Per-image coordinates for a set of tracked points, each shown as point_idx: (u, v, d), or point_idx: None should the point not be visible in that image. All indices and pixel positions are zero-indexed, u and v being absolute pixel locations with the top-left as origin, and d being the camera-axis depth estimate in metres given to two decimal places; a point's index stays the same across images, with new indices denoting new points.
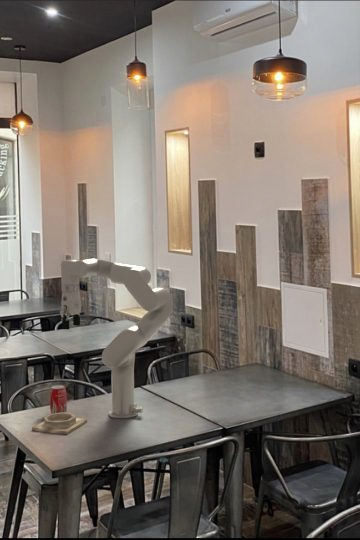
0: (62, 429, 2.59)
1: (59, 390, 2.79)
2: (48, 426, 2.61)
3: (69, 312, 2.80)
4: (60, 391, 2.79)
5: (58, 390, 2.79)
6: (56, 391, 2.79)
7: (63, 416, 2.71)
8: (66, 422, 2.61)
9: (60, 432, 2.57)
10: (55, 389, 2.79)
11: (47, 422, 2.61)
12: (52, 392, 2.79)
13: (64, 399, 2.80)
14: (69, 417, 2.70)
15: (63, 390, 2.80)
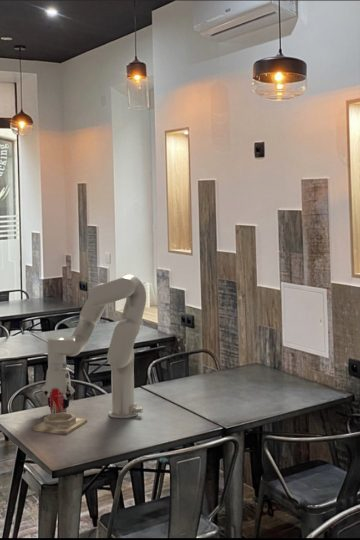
0: (62, 429, 2.59)
1: None
2: (48, 426, 2.61)
3: None
4: None
5: (58, 390, 2.79)
6: (56, 391, 2.79)
7: (63, 416, 2.71)
8: (66, 422, 2.61)
9: (60, 432, 2.57)
10: (55, 389, 2.79)
11: (47, 422, 2.61)
12: (52, 392, 2.79)
13: None
14: (69, 417, 2.70)
15: None
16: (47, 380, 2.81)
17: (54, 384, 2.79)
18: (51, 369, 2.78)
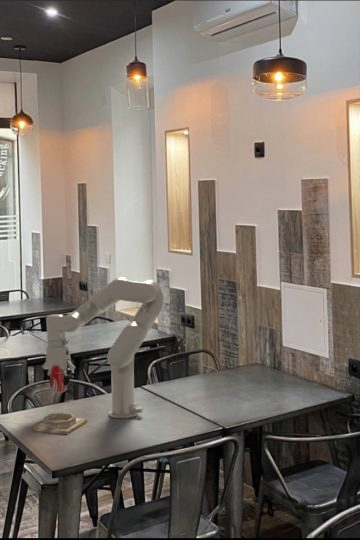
0: (62, 429, 2.59)
1: (59, 367, 2.78)
2: (48, 426, 2.61)
3: None
4: None
5: (58, 367, 2.78)
6: (56, 368, 2.78)
7: (63, 416, 2.71)
8: (66, 422, 2.61)
9: (60, 432, 2.57)
10: (55, 366, 2.78)
11: (47, 422, 2.61)
12: (52, 369, 2.78)
13: None
14: (69, 417, 2.70)
15: None
16: (47, 357, 2.80)
17: (54, 361, 2.78)
18: (51, 346, 2.77)
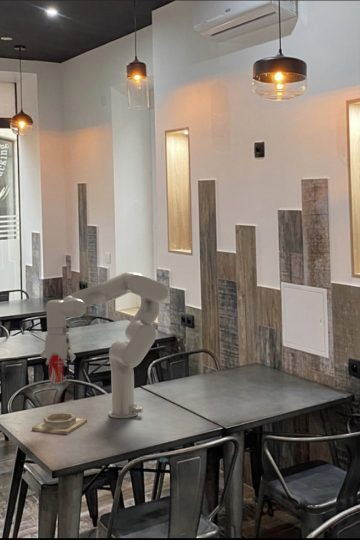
0: (62, 429, 2.59)
1: None
2: (48, 426, 2.61)
3: None
4: None
5: (58, 356, 2.61)
6: (56, 357, 2.61)
7: (63, 416, 2.71)
8: (66, 422, 2.61)
9: (60, 432, 2.57)
10: (55, 355, 2.61)
11: (47, 422, 2.61)
12: (51, 358, 2.61)
13: None
14: (69, 417, 2.70)
15: None
16: (46, 346, 2.63)
17: (53, 350, 2.62)
18: (50, 333, 2.60)
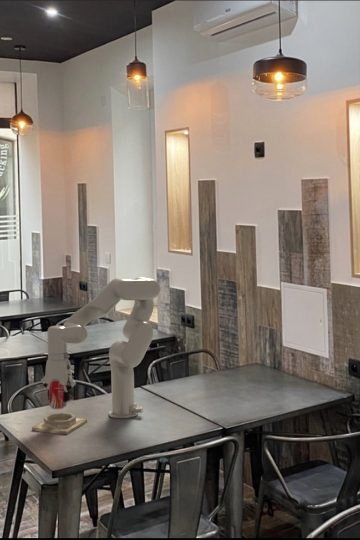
0: (62, 429, 2.59)
1: (59, 382, 2.62)
2: (48, 426, 2.61)
3: None
4: (60, 383, 2.62)
5: (58, 382, 2.62)
6: (56, 383, 2.62)
7: (63, 416, 2.71)
8: (66, 422, 2.61)
9: (60, 432, 2.57)
10: (55, 381, 2.62)
11: (47, 422, 2.61)
12: (52, 384, 2.62)
13: None
14: (69, 417, 2.70)
15: None
16: (47, 371, 2.64)
17: (54, 376, 2.62)
18: (51, 359, 2.61)
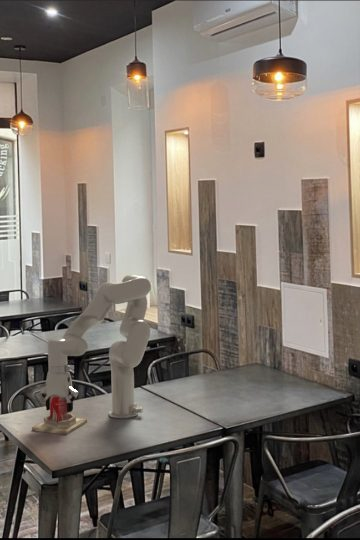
0: (62, 429, 2.59)
1: (60, 398, 2.63)
2: (48, 426, 2.61)
3: (72, 392, 2.65)
4: (61, 399, 2.63)
5: (58, 398, 2.63)
6: (56, 399, 2.62)
7: None
8: (66, 422, 2.61)
9: (60, 432, 2.57)
10: (55, 397, 2.63)
11: (47, 422, 2.61)
12: (52, 400, 2.63)
13: (65, 407, 2.64)
14: (69, 417, 2.70)
15: (64, 398, 2.64)
16: (47, 384, 2.64)
17: (55, 388, 2.63)
18: (52, 372, 2.61)
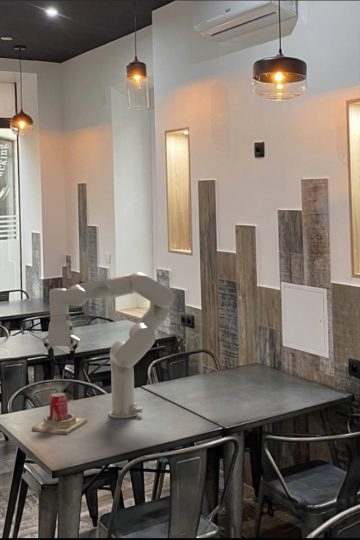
0: (62, 429, 2.59)
1: (60, 398, 2.63)
2: (48, 426, 2.61)
3: None
4: (61, 399, 2.63)
5: (58, 398, 2.63)
6: (56, 399, 2.62)
7: None
8: (66, 422, 2.61)
9: (60, 432, 2.57)
10: (55, 397, 2.63)
11: (47, 422, 2.61)
12: (52, 400, 2.63)
13: (65, 407, 2.64)
14: (69, 417, 2.70)
15: (64, 398, 2.64)
16: (49, 333, 2.69)
17: (57, 337, 2.68)
18: (54, 321, 2.66)
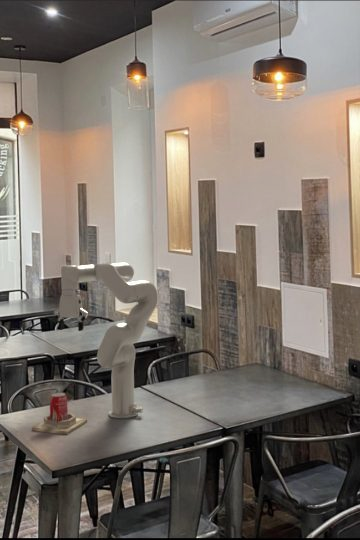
0: (62, 429, 2.59)
1: (60, 398, 2.63)
2: (48, 426, 2.61)
3: (82, 313, 2.97)
4: (61, 399, 2.63)
5: (58, 398, 2.63)
6: (56, 399, 2.62)
7: None
8: (66, 422, 2.61)
9: (60, 432, 2.57)
10: (55, 397, 2.63)
11: (47, 422, 2.61)
12: (52, 400, 2.63)
13: (65, 407, 2.64)
14: (69, 417, 2.70)
15: (64, 398, 2.64)
16: (60, 306, 2.96)
17: (67, 309, 2.94)
18: (64, 294, 2.93)
